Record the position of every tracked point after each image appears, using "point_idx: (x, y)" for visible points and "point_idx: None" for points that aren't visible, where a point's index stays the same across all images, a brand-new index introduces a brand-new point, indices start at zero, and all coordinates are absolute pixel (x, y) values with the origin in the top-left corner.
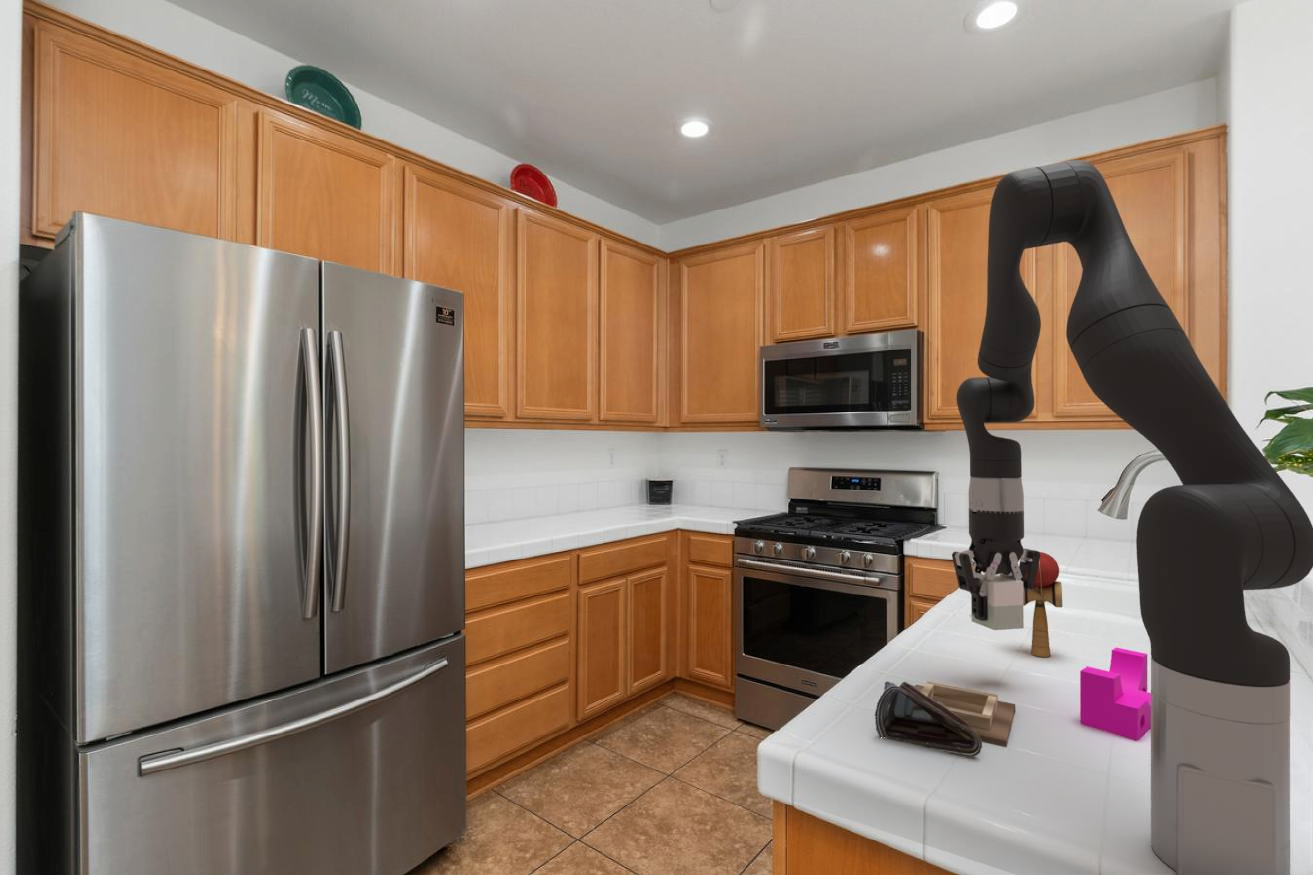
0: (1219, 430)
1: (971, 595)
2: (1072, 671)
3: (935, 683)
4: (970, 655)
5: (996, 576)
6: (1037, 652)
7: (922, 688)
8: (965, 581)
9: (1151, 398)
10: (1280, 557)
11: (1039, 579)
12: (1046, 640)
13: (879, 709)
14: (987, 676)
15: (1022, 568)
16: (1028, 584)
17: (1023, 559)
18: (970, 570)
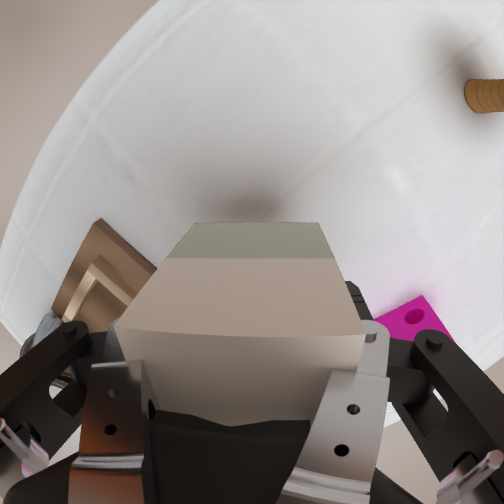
0: None
1: (159, 267)
2: (463, 186)
3: (100, 273)
4: (337, 40)
5: (295, 372)
6: (470, 100)
7: (97, 241)
8: (70, 359)
9: None
10: None
11: None
12: (498, 111)
13: (26, 344)
14: (283, 163)
15: (452, 426)
16: (397, 406)
17: (439, 496)
18: (53, 443)
